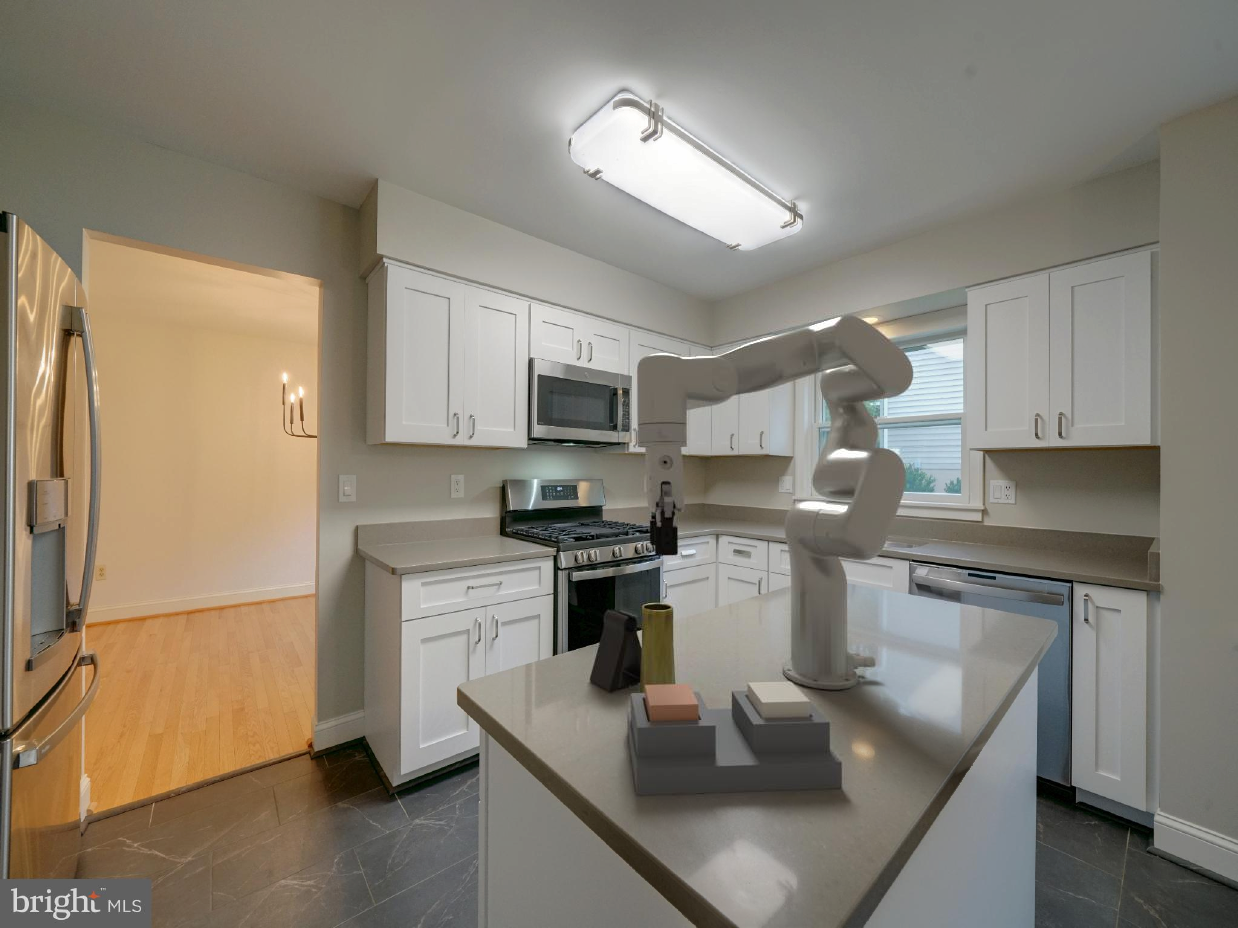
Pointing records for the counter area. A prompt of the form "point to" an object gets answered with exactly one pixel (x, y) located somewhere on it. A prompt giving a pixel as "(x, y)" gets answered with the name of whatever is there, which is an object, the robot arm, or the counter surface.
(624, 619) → the phone stand
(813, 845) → the counter surface
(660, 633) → the vase
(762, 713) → the ivory button
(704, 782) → the button panel
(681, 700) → the terracotta button
